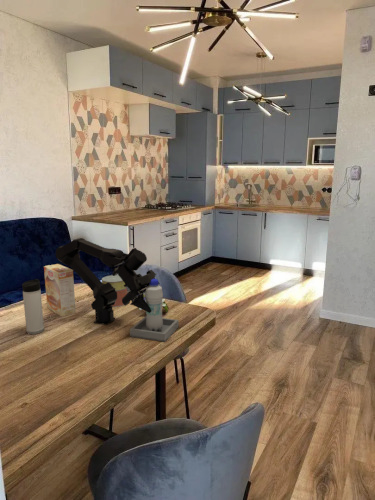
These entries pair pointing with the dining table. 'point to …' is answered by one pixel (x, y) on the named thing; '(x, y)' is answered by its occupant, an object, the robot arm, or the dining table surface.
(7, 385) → the dining table surface
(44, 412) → the dining table surface
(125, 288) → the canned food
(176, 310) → the dining table surface
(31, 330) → the travel mug
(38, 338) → the dining table surface
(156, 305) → the bottle
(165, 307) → the passion flower
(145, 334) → the open box
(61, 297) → the coffeecake box
